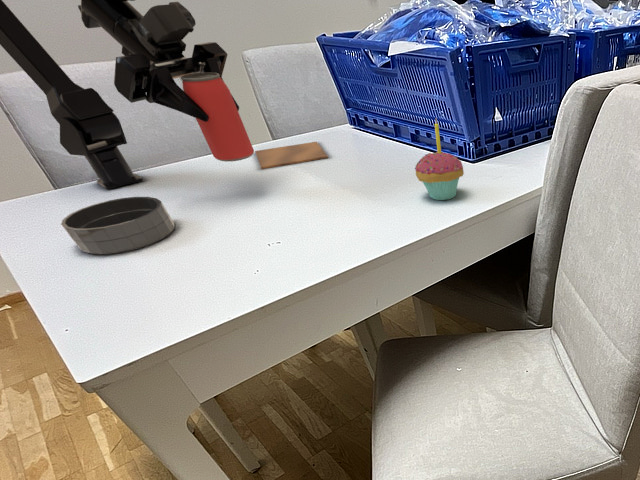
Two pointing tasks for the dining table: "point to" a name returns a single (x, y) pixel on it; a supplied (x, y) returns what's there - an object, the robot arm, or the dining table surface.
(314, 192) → the dining table surface
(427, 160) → the cupcake
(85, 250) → the pan
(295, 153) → the cork mat
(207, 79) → the beer can
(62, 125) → the robot arm
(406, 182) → the dining table surface
